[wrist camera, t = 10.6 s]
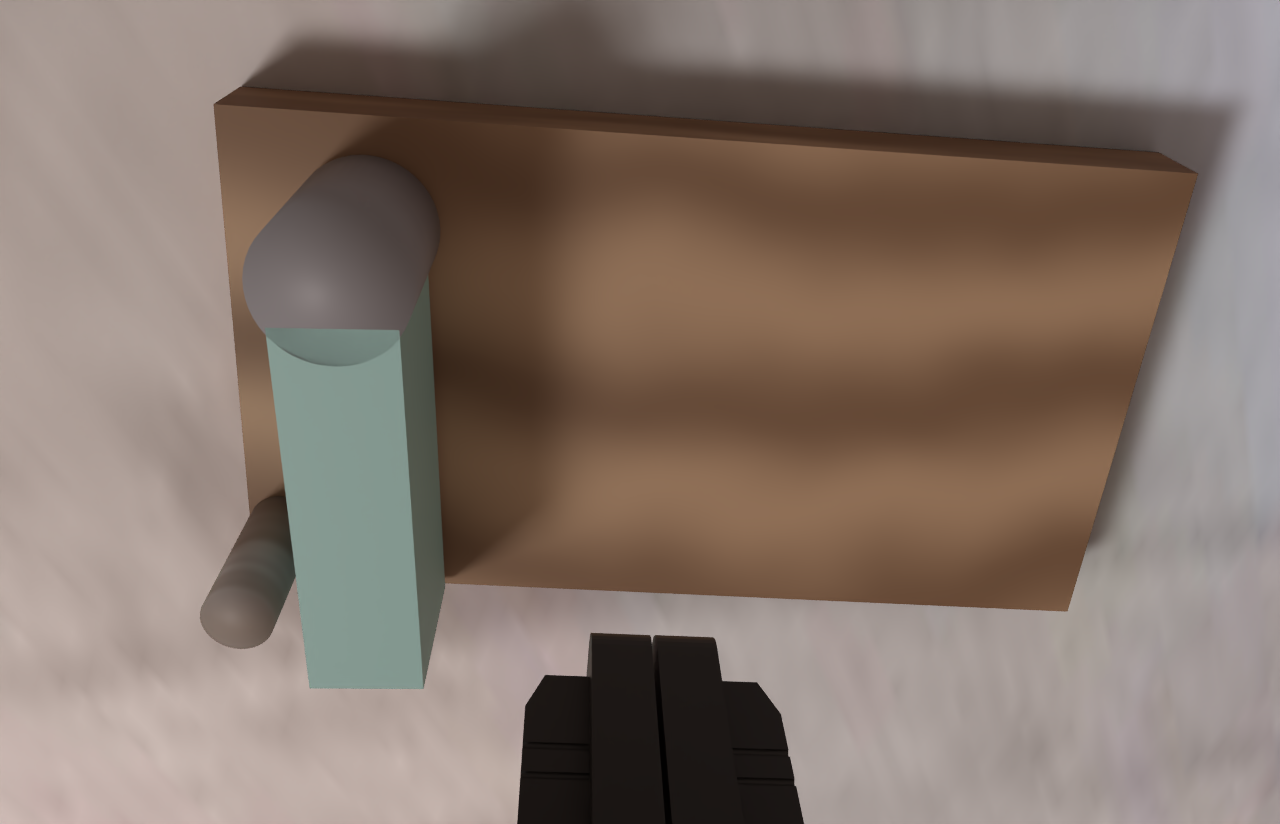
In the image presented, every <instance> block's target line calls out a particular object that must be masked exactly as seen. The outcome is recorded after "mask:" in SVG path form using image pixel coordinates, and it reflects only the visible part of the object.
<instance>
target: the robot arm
mask: <svg viewBox="0 0 1280 824" xmlns="http://www.w3.org/2000/svg"><path fill="white" fill-rule="evenodd" d="M517 824H804V822H803V817H802V812H801V807H800V803H799V798H798V793H797V788H796V786H794V774H793V770H792V765H791V760H790V757H788V746H787V741H786V736H785V732H784V727H783V722H782V717H781V714H780V712H779V711H778V710H777V708H776V707H775V706H774V704H773V703H772V702H771V700H770V699H769V698H768V696H767V695H766V694H765V692H764V691H763V690H762V688H761V687H760V686H759V684H758V683H757V682H729V681H722V677H721V671H720V664H719V658H718V651H717V645H716V641H715V639H714V638H713V637H688V636H662V635H655V636H654V638H653V642H651V637H650V635H630V634H604V633H591V634H590V641H589V653H588V665H587V677H583V676H556V675H545V676H544V678H543V679H542V681H541V682H540V684H539V686H538V687H537V689H536V690H535V692H534V693H533V695H532V696H531V698H530V699H529V701H528V702H527V704H526V706H525V719H524V733H523V749H522V763H521V778H520V792H519V807H518V822H517Z"/></svg>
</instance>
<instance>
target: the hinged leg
mask: <svg viewBox="0 0 1280 824" xmlns="http://www.w3.org/2000/svg"><path fill="white" fill-rule="evenodd" d="M439 242H440V221H439V216H438V212H437V209H436V206H435V204H434V201H433V200H432V198H431V196H430V194H429V192H428V191H427V190H426V188H425V187H424V186H423V184H422V183H421V182H420V181H419V180H418V179H417V178H416V177H415V176H414V175H413V174H411V173H410V172H409V171H408V170H406V169H405V168H403V167H402V166H400V165H398V164H396V163H394V162H392V161H389V160H387V159H384V158H380V157H376V156H370V155H350V156H345V157H341V158H337V159H334V160H332V161H330V162H328V163H326V164H324V165H323V166H321V167H320V168H318V169H317V170H316V171H315V172H314V173H313V174H311V175H310V177H309V178H308V179H307V180H306V181H305V182H304V183H303V184H302V186H301V187H300V188H299V189H298V190H297V191H296V192H295V193H294V194H293V196H292V197H291V198H290V199H289V200H288V201H287V202H286V203H285V204H284V206H283V207H282V208H281V209H280V210H279V211H278V212H277V213H276V215H275V216H274V217H273V218H272V219H271V220H270V221H269V222H268V223H267V225H266V226H265V227H264V228H263V229H262V230H261V231H260V233H259V234H258V235H257V236H256V237H255V239H254V240H253V242H252V244H251V245H250V247H249V249H248V252H247V254H246V257H245V261H244V265H243V274H242V282H243V291H244V296H245V300H246V303H247V306H248V309H249V311H250V313H251V315H252V317H253V319H254V320H255V322H256V323H257V325H258V326H259V328H260V329H261V330H262V331H263V333H264V334H265V335H266V341H267V349H268V357H269V365H270V373H271V381H272V389H273V397H274V405H275V413H276V421H277V429H278V437H279V445H280V453H281V461H282V469H283V477H284V485H285V493H286V502H287V510H288V518H289V526H290V534H291V542H292V550H293V558H294V566H295V574H296V582H297V590H298V598H299V606H300V614H301V622H302V630H303V638H304V646H305V655H306V663H307V671H308V679H309V687H310V688H351V689H423V688H424V684H425V679H426V674H427V670H428V665H429V660H430V655H431V651H432V646H433V641H434V637H435V632H436V627H437V622H438V618H439V613H440V608H441V604H442V599H443V594H444V589H445V575H444V556H443V538H442V519H441V500H440V482H439V463H438V445H437V426H436V408H435V389H434V370H433V352H432V333H431V315H430V296H429V278H428V274H429V271H430V269H431V266H432V264H433V261H434V259H435V256H436V254H437V250H438V247H439Z"/></svg>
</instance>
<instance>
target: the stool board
mask: <svg viewBox="0 0 1280 824" xmlns="http://www.w3.org/2000/svg"><path fill="white" fill-rule="evenodd" d="M214 115H215V126H216V137H217V149H218V160H219V171H220V183H221V194H222V205H223V216H224V228H225V239H226V250H227V262H228V273H229V284H230V296H231V307H232V318H233V330H234V341H235V352H236V363H237V375H238V386H239V397H240V409H241V420H242V431H243V443H244V454H245V465H246V477H247V488H248V499H249V510H250V516H249V518H248V520H247V522H246V524H245V526H244V528H243V530H242V532H241V533H240V535H239V537H238V539H237V541H236V543H235V545H234V547H233V549H232V550H231V552H230V554H229V556H228V558H227V560H226V562H225V564H224V566H223V567H222V569H221V571H220V573H219V575H218V577H217V579H216V581H215V583H214V585H213V586H212V588H211V590H210V592H209V594H208V596H207V598H206V600H205V602H204V603H203V605H202V608H201V611H200V620H201V624H202V626H203V628H204V630H205V631H206V633H207V634H208V635H209V636H210V637H211V638H212V639H214V640H215V641H217V642H218V643H220V644H222V645H225V646H228V647H231V648H237V649H246V648H252V647H255V646H258V645H260V644H262V643H263V642H265V641H266V640H267V639H268V638H269V637H270V635H271V633H272V631H273V629H274V626H275V624H276V622H277V619H278V617H279V615H280V612H281V610H282V607H283V605H284V603H285V600H286V598H287V596H288V593H289V591H290V588H291V586H292V584H293V581H294V579H295V577H296V574H295V566H294V558H293V550H292V542H291V534H290V526H289V518H288V510H287V502H286V493H285V485H284V477H283V469H282V461H281V453H280V445H279V437H278V429H277V421H276V413H275V405H274V397H273V389H272V381H271V373H270V365H269V357H268V349H267V341H266V335H265V334H264V333H263V331H262V330H261V329H260V328H259V326H258V325H257V323H256V322H255V320H254V319H253V317H252V315H251V313H250V311H249V309H248V306H247V303H246V300H245V296H244V291H243V282H242V274H243V265H244V261H245V257H246V254H247V252H248V249H249V247H250V245H251V244H252V242H253V240H254V239H255V237H256V236H257V235H258V234H259V233H260V231H261V230H262V229H263V228H264V227H265V226H266V225H267V223H268V222H269V221H270V220H271V219H272V218H273V217H274V216H275V215H276V213H277V212H278V211H279V210H280V209H281V208H282V207H283V206H284V204H285V203H286V202H287V201H288V200H289V199H290V198H291V197H292V196H293V194H294V193H295V192H296V191H297V190H298V189H299V188H300V187H301V186H302V184H303V183H304V182H305V181H306V180H307V179H308V178H309V177H310V175H311V174H313V173H314V172H315V171H316V170H317V169H318V168H320V167H321V166H323V165H324V164H326V163H328V162H330V161H332V160H334V159H337V158H341V157H345V156H350V155H370V156H376V157H380V158H384V159H387V160H389V161H392V162H394V163H396V164H398V165H400V166H402V167H403V168H405V169H406V170H408V171H409V172H410V173H411V174H413V175H414V176H415V177H416V178H417V179H418V180H419V181H420V182H421V183H422V184H423V186H424V187H425V188H426V190H427V191H428V192H429V194H430V196H431V198H432V200H433V201H434V204H435V206H436V209H437V212H438V216H439V221H440V242H439V247H438V250H437V254H436V256H435V259H434V261H433V264H432V266H431V269H430V271H429V274H428V278H429V296H430V315H431V333H432V352H433V370H434V389H435V408H436V426H437V445H438V463H439V482H440V500H441V519H442V538H443V556H444V575H445V583H453V584H475V585H497V586H519V587H541V588H563V589H585V590H607V591H629V592H651V593H673V594H695V595H717V596H739V597H761V598H783V599H805V600H827V601H849V602H870V603H892V604H914V605H936V606H958V607H980V608H1002V609H1024V610H1046V611H1068V607H1069V604H1070V601H1071V597H1072V594H1073V591H1074V587H1075V584H1076V581H1077V577H1078V574H1079V571H1080V567H1081V564H1082V561H1083V557H1084V554H1085V551H1086V547H1087V544H1088V541H1089V537H1090V534H1091V530H1092V527H1093V524H1094V520H1095V517H1096V514H1097V510H1098V507H1099V504H1100V500H1101V497H1102V494H1103V490H1104V487H1105V484H1106V480H1107V477H1108V474H1109V470H1110V467H1111V464H1112V460H1113V457H1114V454H1115V450H1116V447H1117V443H1118V440H1119V437H1120V433H1121V430H1122V427H1123V423H1124V420H1125V417H1126V413H1127V410H1128V407H1129V403H1130V400H1131V397H1132V393H1133V390H1134V387H1135V383H1136V380H1137V377H1138V373H1139V370H1140V367H1141V363H1142V360H1143V357H1144V353H1145V350H1146V346H1147V343H1148V340H1149V336H1150V333H1151V330H1152V326H1153V323H1154V320H1155V316H1156V313H1157V310H1158V306H1159V303H1160V300H1161V296H1162V293H1163V290H1164V286H1165V283H1166V280H1167V276H1168V273H1169V270H1170V266H1171V263H1172V259H1173V256H1174V253H1175V249H1176V246H1177V243H1178V239H1179V236H1180V233H1181V229H1182V226H1183V223H1184V219H1185V216H1186V213H1187V209H1188V206H1189V203H1190V199H1191V196H1192V193H1193V189H1194V186H1195V183H1196V179H1197V176H1198V173H1196V172H1194V171H1192V170H1190V169H1188V168H1186V167H1185V166H1183V165H1181V164H1179V163H1177V162H1175V161H1174V160H1172V159H1170V158H1168V157H1166V156H1164V155H1162V154H1161V153H1159V152H1146V151H1132V150H1118V149H1104V148H1090V147H1076V146H1062V145H1048V144H1034V143H1020V142H1006V141H992V140H978V139H964V138H950V137H936V136H922V135H908V134H895V133H881V132H867V131H853V130H839V129H825V128H811V127H797V126H783V125H769V124H755V123H741V122H727V121H713V120H699V119H685V118H671V117H657V116H644V115H630V114H616V113H602V112H588V111H574V110H560V109H546V108H532V107H518V106H504V105H490V104H476V103H462V102H448V101H434V100H420V99H406V98H393V97H379V96H365V95H351V94H337V93H323V92H309V91H295V90H281V89H267V88H253V87H239V88H238V89H236V90H235V91H233V92H231V93H230V94H228V95H227V96H225V97H224V98H222V99H221V100H219V101H218V102H216V103H215V104H214Z"/></svg>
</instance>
